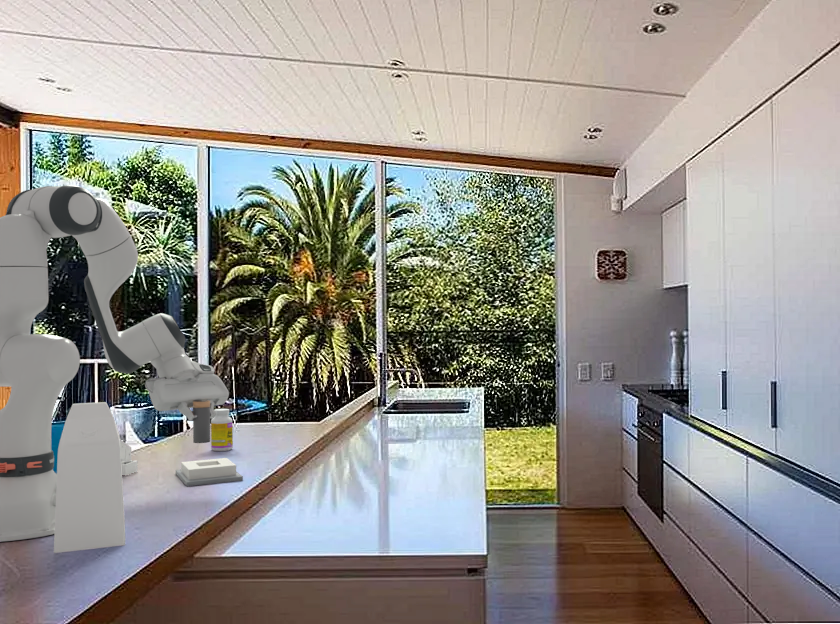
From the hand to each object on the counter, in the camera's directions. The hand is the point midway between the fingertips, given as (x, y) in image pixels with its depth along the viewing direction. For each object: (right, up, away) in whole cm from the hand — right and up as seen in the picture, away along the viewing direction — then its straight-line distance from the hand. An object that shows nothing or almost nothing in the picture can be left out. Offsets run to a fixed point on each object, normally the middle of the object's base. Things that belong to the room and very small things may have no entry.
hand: (203, 417), depth 189 cm
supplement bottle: (-10, -18, +57) cm, 61 cm away
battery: (0, -6, 0) cm, 6 cm away
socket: (-3, -18, +15) cm, 23 cm away
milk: (-9, -18, -43) cm, 47 cm away
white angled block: (-27, -18, +21) cm, 39 cm away
